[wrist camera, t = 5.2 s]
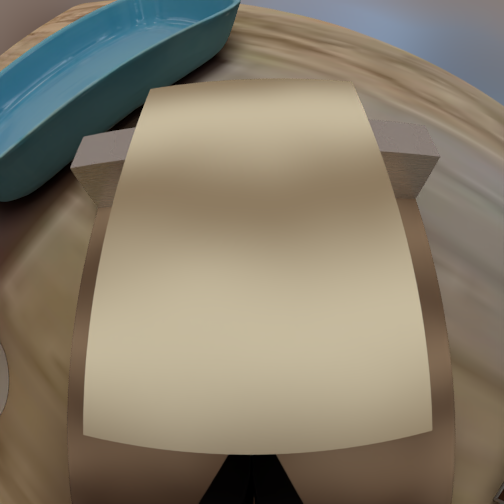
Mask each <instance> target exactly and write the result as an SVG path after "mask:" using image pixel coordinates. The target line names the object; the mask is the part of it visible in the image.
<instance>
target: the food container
mask: <svg viewBox="0 0 504 504" xmlns="http://www.w3.org/2000/svg"><path fill="white" fill-rule="evenodd" d="M493 501H496V502H498V503H500V504H504V483H503V484H502V486H501V488H500V489H499V491H498V493H497V494H496V496H495V497H494V499H493Z"/></svg>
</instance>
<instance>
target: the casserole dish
mask: <svg viewBox="0 0 504 504" xmlns="http://www.w3.org/2000/svg"><path fill="white" fill-rule="evenodd" d="M240 1H241V0H117V1H115V2H113V3H110V4H108V5H106V6H103V7H101V8H99V9H97V10H95V11H93V12H91V13H89V14H87V15H85V16H84V17H82V18H80V19H78V20H76V21H74V22H73V23H71V24H69V25H67V26H66V27H64V28H62V29H61V30H59V31H57V32H56V33H54V34H52V35H51V36H49V37H48V38H46V39H45V40H43V41H42V42H40V43H39V44H37V45H36V46H34V47H33V48H31V49H30V50H28V51H27V52H26V53H24V54H23V55H21V56H20V57H19V58H17V59H16V60H15V61H13V62H12V63H11V64H10V65H8V66H7V67H6V68H5V69H3V70H2V71H1V72H0V202H7V201H12V200H16V199H19V198H21V197H24V196H27V195H29V194H31V193H32V192H34V191H35V190H37V189H38V188H40V187H41V186H42V185H43V184H45V183H46V182H47V181H48V180H50V179H51V178H52V177H53V176H54V175H56V174H57V173H58V172H59V171H60V170H62V169H63V168H64V167H65V166H66V165H67V164H68V163H70V162H71V161H72V160H73V159H74V157H75V155H76V153H77V150H78V148H79V146H80V144H81V141H82V139H83V137H85V136H90V135H95V134H100V133H105V132H107V131H108V130H110V129H111V128H112V127H113V126H115V125H116V124H117V123H119V122H120V121H121V120H122V119H124V118H125V117H126V116H128V115H129V114H130V113H131V112H133V111H134V110H135V109H137V108H139V107H140V106H142V105H143V104H144V103H145V101H146V99H147V96H148V94H149V91H150V89H154V88H160V87H167V86H171V85H172V84H173V83H175V82H176V81H178V80H180V79H181V78H183V77H184V76H186V75H187V74H189V73H190V72H192V71H193V70H195V69H196V68H198V67H200V66H201V65H202V64H204V63H205V62H207V61H208V60H210V59H211V58H212V57H213V56H215V55H216V54H217V53H218V52H219V51H220V50H221V49H222V48H223V46H224V45H225V43H226V41H227V39H228V37H229V35H230V32H231V29H232V26H233V24H234V20H235V17H236V13H237V10H238V7H239V4H240Z"/></svg>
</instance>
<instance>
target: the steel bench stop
mask: <svg viewBox="0 0 504 504" xmlns="http://www.w3.org/2000/svg"><path fill="white" fill-rule="evenodd" d="M368 121H369V123H370V126H371V128H372V131H373V133H374V136H375V139H376V141H377V144H378V147H379V150H380V152H381V155H382V158H383V161H384V164H385V167H386V170H387V173H388V176H389V179H390V182H391V185H392V188H393V192H394V195H395V198H404V199H416V197H417V195H418V194H419V192H420V191H421V189H422V187H423V186H424V184H425V182H426V181H427V179H428V177H429V175H430V174H431V172H432V170H433V169H434V167H435V165H436V163H437V161H438V160H439V158H440V155H439V153H438V151H437V149H436V147H435V145H434V143H433V141H432V139H431V137H430V135H429V133H428V131H427V129H426V127H425V126H424V125H416V124H409V123H400V122H391V121H381V120H370V119H368ZM135 129H136V127H135V128H129V129H122V130H116V131H111V132H105V133H100V134H95V135H90V136H85V137H83V139H82V141H81V144H80V146H79V148H78V150H77V153H76V155H75V157H74V160H73V162H72V165H71V167H70V169H71V170H72V172H73V173H74V175H75V176H76V178H77V179H78V181H79V182H80V183H81V185H82V186H83V188H84V189H85V191H86V192H87V193H88V195H89V196H90V198H91V199H92V200H93V202H94V203H95V205H96V206H97V207H98V208H104V207H112V205H113V201H114V197H115V193H116V190H117V186H118V182H119V179H120V175H121V172H122V169H123V165H124V162H125V159H126V156H127V153H128V149H129V146H130V143H131V140H132V137H133V134H134V131H135Z"/></svg>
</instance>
